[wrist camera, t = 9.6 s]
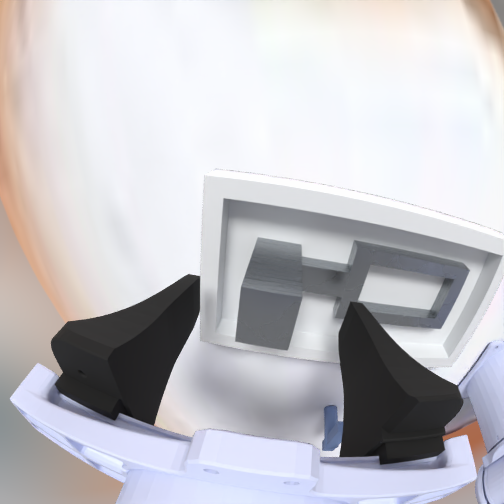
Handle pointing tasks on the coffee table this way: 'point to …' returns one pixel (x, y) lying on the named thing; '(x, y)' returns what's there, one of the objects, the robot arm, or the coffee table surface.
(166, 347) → the robot arm
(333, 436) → the t-stake
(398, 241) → the tray
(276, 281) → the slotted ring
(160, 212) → the coffee table surface
